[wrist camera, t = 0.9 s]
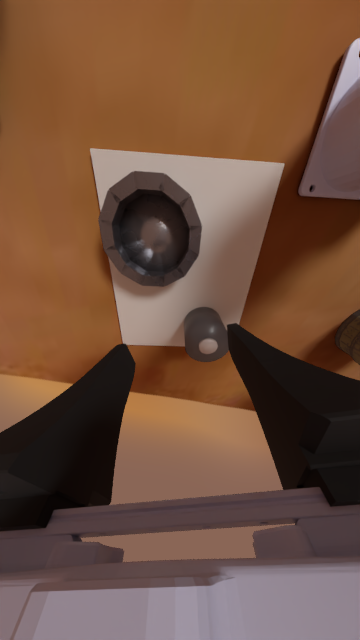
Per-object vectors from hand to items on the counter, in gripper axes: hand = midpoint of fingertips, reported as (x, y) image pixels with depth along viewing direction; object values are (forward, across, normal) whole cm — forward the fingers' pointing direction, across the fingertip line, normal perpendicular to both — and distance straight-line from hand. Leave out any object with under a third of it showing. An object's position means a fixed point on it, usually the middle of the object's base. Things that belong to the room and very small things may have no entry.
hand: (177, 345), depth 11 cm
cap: (+9, -2, +4) cm, 10 cm away
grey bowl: (+9, +1, -7) cm, 11 cm away
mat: (+10, -1, -2) cm, 10 cm away
